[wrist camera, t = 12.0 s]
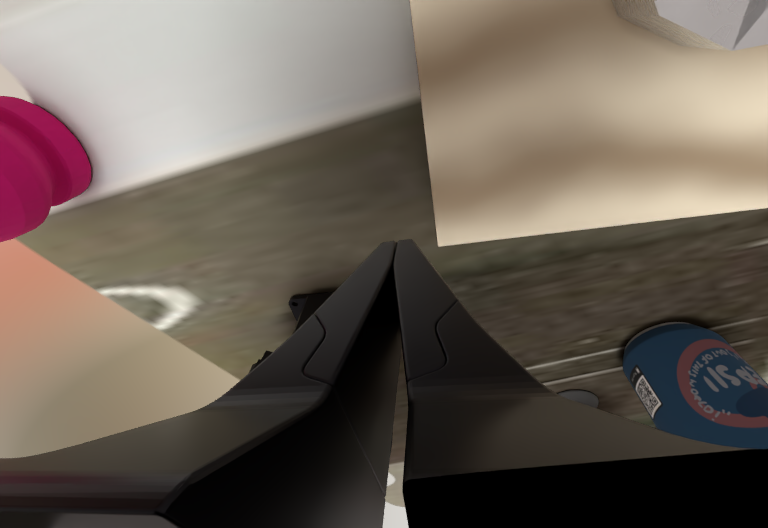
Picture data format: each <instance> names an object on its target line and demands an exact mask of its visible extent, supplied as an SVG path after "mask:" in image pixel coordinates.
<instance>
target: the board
mask: <svg viewBox="0 0 768 528" xmlns="http://www.w3.org/2000/svg"><path fill="white" fill-rule="evenodd" d="M410 8H411V17H412V25H413V34H414V43H415V51H416V60H417V68H418V77H419V86H420V94H421V103H422V112H423V120H424V129H425V137H426V146H427V155H428V163H429V172H430V180H431V189H432V198H433V206H434V215H435V223H436V232H437V241H438V247H439V246H448V245H456V244H465V243H473V242H482V241H490V240H499V239H507V238H516V237H524V236H533V235H541V234H550V233H558V232H566V231H575V230H583V229H592V228H600V227H609V226H617V225H626V224H634V223H643V222H651V221H660V220H668V219H677V218H685V217H694V216H702V215H711V214H719V213H728V212H736V211H745V210H753V209H762V208H768V44H766V45H761V46H756V47H751V48H745V49H740V50H735V51H727V50H717V49H707V48H697V47H687V46H679V45H677V44H675V43H673V42H671V41H668V40H666V39H664V38H662V37H660V36H658V35H656V34H654V33H652V32H650V31H648V30H646V29H643V28H641V27H639V26H637V25H635V24H633V23H631V22H629V21H627V20H625V19H623V18H621V17H618V16H617V13H616V11H615V8H614V6H613V3H612V0H410Z"/></svg>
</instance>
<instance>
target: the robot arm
mask: <svg viewBox="0 0 768 528" xmlns="http://www.w3.org/2000/svg"><path fill="white" fill-rule="evenodd" d="M295 302H297V303H295ZM289 306H290V308H291V310H292V312H293V314H294V316H295V318H296V320H297V324H296V326H295V329H294V332H293V335H292V336H291V337H290V338H288V339H287V340H286V341H285V342H284V343H283V344H282V345H281V346H280V347H278V348H277V349H276V350H275V351H274V352H270V351H266V352H265V354H264V356H263V357H262V359H261V360H260V359H259V360H258V362H257V363H256V364H253V365H252V367H251V370H250V372H249V374H248V375H246V376H245V377H244V378H243V379H242V380H241V381H239V382H238V383H237V384H236V385H235V386H234V387H233V388H231V389H230V390H229V391H228V392H226V393H225V394H224V395H223V396H222V397H220V398H219V399H217V400H215V401H214V402H212V403H210V404H209V405H207V406H205V407H203V408H200V409H198V410H196V411H193V412H190V413H187V414H184V415H180V416H177V417H173V418H170V419H166V420H163V421H159V422H156V423H152V424H149V425H145V426H142V427H138V428H135V429H131V430H128V431H124V432H121V433H117V434H114V435H110V436H107V437H103V438H100V439H97V440H93V441H90V442H86V443H83V444H79V445H75V446H71V447H68V448H64V449H60V450H56V451H52V452H48V453H43V454H39V455H34V456H28V457H21V458H0V528H382V525H383V516H384V507H385V498H384V497H385V496H386V487H387V478H388V468H389V459H390V453H391V446H392V434H393V433H392V431H393V421H394V412H395V402H396V393H397V383H398V374H399V365H400V355H401V346H402V350H403V359H404V368H405V376H406V384H407V395H408V421H407V434H406V448H405V461H404V475H403V497H404V502H405V508H406V513H407V520H408V525H409V528H768V449H753V448H737V447H729V446H722V445H715V444H710V443H706V442H701V441H697V440H692V439H688V438H685V437H681V436H678V435H674V434H671V433H668V432H665V431H662V430H659V429H656V428H653V427H650V426H647V425H644V424H641V423H638V422H635V421H632V420H629V419H626V418H623V417H621V416H618V415H615V414H612V413H609V412H606V411H603V410H600V409H597V408H594V407H591V406H588V405H585V404H582V403H579V402H576V401H573V400H570V399H567V398H565V397H562V396H560V395H558V394H557V393H555V392H553V391H552V390H550V389H549V388H547V387H546V386H545V385H543V384H542V383H541V382H539V381H538V380H537V379H536V378H535V377H534V376H533V375H532V374H531V373H530V372H528V371H527V370H526V369H525V368H524V367H523V366H522V365H521V364H520V363H519V362H518V361H517V360H516V359H515V358H514V357H513V356H512V355H510V354H509V353H508V352H507V351H506V350H505V349H504V348H503V347H502V346H501V345H500V344H499V343H498V342H497V341H496V340H495V339H493V338H492V337H491V336H490V335H489V333H488V332H487V331H486V330H485V329H484V328H483V327H482V326H481V325H480V324H479V323H478V322H477V321H476V320H475V319H474V317H473V316H472V315H471V314H470V313H469V312H468V310H467V309H466V308H465V306H464V305H463V304H462V303H461V302H460V301H459V299H458V298H457V296H456V295H455V294H454V293H453V291H452V290H451V289H450V287H449V286H448V285H447V283H446V282H445V281H444V280H443V278H442V277H441V276H440V274H439V273H438V272H437V271H436V269H435V268H434V267H433V265H432V264H431V263H430V262H429V260H428V259H427V258H426V256H425V255H424V254H423V252H422V251H421V250H420V249H419V247H418V246H417V245H416V243H415V242H414V241H413V240H412V239H407V240H399V241H398V242H396V241H391V242H383V243H381V244H380V245H379V246H378V247H377V248H376V249H375V250H374V251H373V252H372V253H371V255H370V256H369V257H368V258H367V259H366V260H365V261H364V262H363V263H362V264H361V265H360V266H359V267H358V268H357V269H356V270H355V271H354V272H353V273H352V274H351V275H350V276H349V277H348V278H347V279H346V280H345V281H344V282H343V284H342V285H341V286H340V287H339V288H338V289H337V290H336V291H335V292H330V293H320V294H310V295H300V296H293V297H291V298H290V300H289Z"/></svg>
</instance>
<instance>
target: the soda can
mask: <svg viewBox="0 0 768 528" xmlns="http://www.w3.org/2000/svg"><path fill="white" fill-rule="evenodd" d="M623 371H624V373H625V375H626V377H627V378H628V380H629V382H630V383H631V385H632V387H633V388H634V390H635V392H636V393H637V395H638V397H639V398H640V400H641V402H642V403H643V405H644V407H645V409H646V410H647V412H648V414H649V415H650V417H651V419H652V420H653V422H654V424H655V425H656V427H657V429H659V430H662V431H665V432H668V433H671V434H674V435H678V436H681V437H685V438H688V439H692V440H697V441H701V442H706V443H710V444H715V445H722V446H729V447H737V448H753V449H768V384H767V383H766V382H765V381H764V380H763V379H762V378H761V377H760V376H759V375H758V374H757V373H756V372H755V371H754V370H753V368H752V367H751V366H750V365H749V364H748V363H747V362H746V361H745V360H744V359H743V358H742V357H741V356H740V355H739V354H738V353H737V352H736V351H735V350H734V349H733V348H732V347H731V346H730V345H729V344H728V343H727V342H726V340H725V339H724V338H723V337H721V336H720V335H719V334H717V333H715V332H713V331H711V330H708V329H705V328H703V327H699V326H696V325H693V324H690V323H685V322H669V323H663V324H659V325H655V326H652V327H650V328H647V329H645V330H643V331H641V332H640V333H638V334H637V335H635V336H634V337H633V338H632V339H631V340H630V341H629V342H628V343H627V345H626V347H625V351H624V357H623Z"/></svg>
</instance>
